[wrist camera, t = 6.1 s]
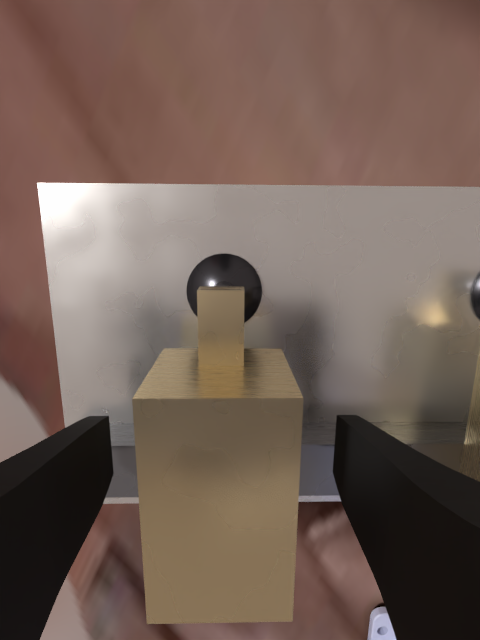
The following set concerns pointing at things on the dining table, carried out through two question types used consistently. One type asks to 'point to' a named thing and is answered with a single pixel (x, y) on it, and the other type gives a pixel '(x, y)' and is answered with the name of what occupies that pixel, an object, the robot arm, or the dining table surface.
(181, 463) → the leg
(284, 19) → the dining table surface
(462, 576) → the robot arm
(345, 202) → the plate
